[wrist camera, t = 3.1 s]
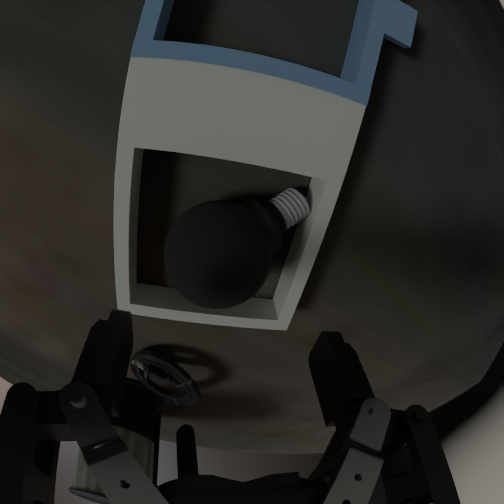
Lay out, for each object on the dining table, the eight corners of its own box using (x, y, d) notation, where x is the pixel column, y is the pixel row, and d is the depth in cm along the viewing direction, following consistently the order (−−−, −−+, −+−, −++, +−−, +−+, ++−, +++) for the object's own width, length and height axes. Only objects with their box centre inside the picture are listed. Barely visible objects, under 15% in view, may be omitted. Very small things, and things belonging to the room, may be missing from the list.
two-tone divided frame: (102, 287, 21) (93, 308, 19) (167, -92, 7) (162, -109, 5) (302, 310, 25) (309, 332, 23) (404, -31, 10) (424, -39, 8)
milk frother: (101, 407, 32) (87, 502, 19) (62, 331, 24) (19, 462, 11) (201, 417, 34) (206, 518, 21) (200, 344, 26) (203, 501, 13)
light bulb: (354, 245, 17) (213, 348, 15) (302, 232, 23) (194, 307, 21) (309, 145, 15) (140, 248, 13) (264, 159, 21) (144, 233, 19)
